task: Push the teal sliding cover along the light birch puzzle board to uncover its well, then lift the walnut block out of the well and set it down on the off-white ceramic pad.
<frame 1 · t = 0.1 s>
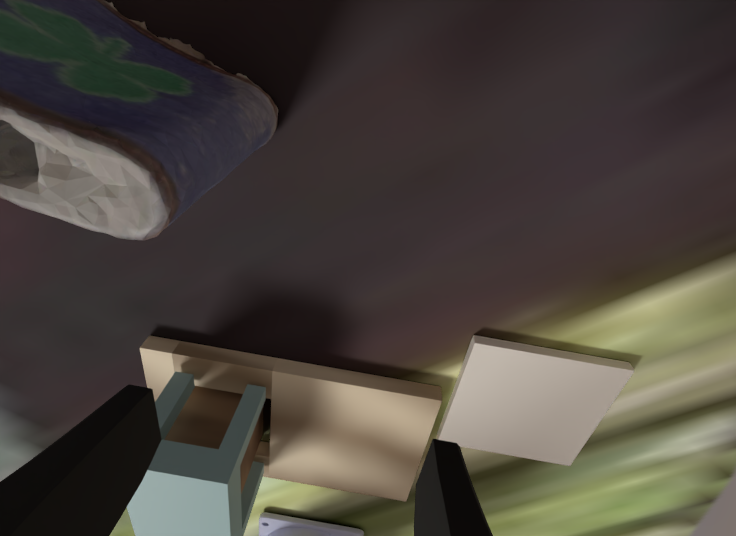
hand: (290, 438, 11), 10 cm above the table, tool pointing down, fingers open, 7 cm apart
cover: (203, 469, 23), point 4 cm above the table, slide at 0.0 cm
flask: (169, 70, 16), on the table
pad: (524, 401, 23), on the table
block: (215, 442, 24), in the board
board: (231, 408, 26), on the table
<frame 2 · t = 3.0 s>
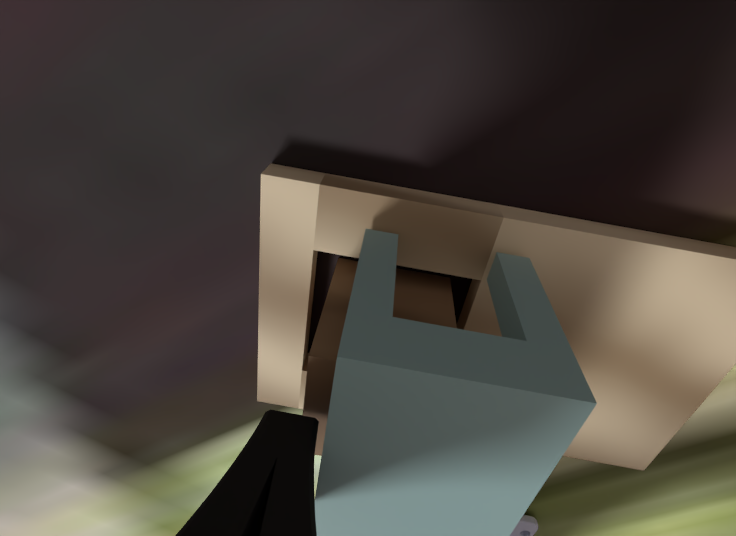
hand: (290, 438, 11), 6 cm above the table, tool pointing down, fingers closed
cover: (419, 404, 12), point 4 cm above the table, slide at 1.3 cm, touching gripper
block: (380, 357, 14), in the board
board: (384, 312, 16), on the table
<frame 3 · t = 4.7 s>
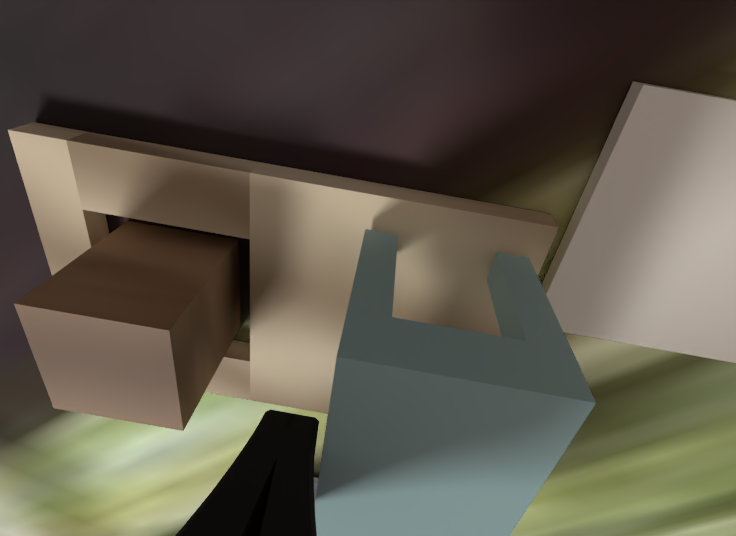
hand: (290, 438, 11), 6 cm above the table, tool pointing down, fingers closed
cover: (419, 404, 12), point 4 cm above the table, slide at 8.9 cm, touching gripper
pad: (697, 239, 13), on the table
block: (153, 317, 14), in the board
board: (187, 277, 16), on the table
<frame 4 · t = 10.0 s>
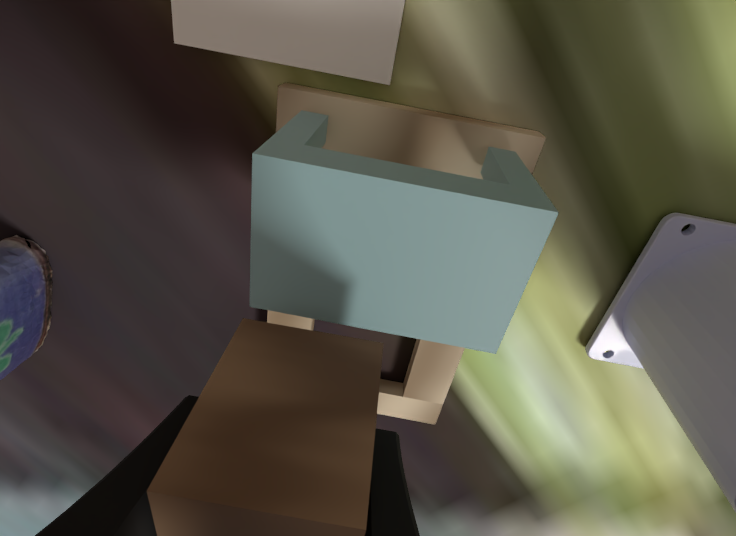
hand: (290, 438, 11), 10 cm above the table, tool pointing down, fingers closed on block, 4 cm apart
cover: (392, 223, 14), point 4 cm above the table, slide at 8.9 cm
flask: (28, 298, 24), on the table
block: (287, 453, 11), point 11 cm above the table, touching gripper
board: (363, 338, 23), on the table
when the fingers open (4 cm above the table, at t = 12.2 s): block drops 1 cm, resting on pad.
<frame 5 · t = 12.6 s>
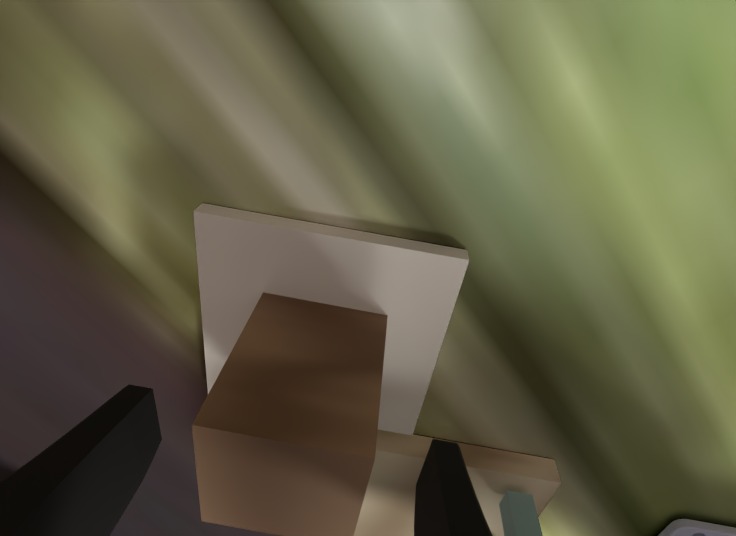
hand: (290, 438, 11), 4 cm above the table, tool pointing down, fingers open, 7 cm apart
pad: (322, 328, 15), on the table
block: (302, 409, 12), on the pad, point 3 cm above the table
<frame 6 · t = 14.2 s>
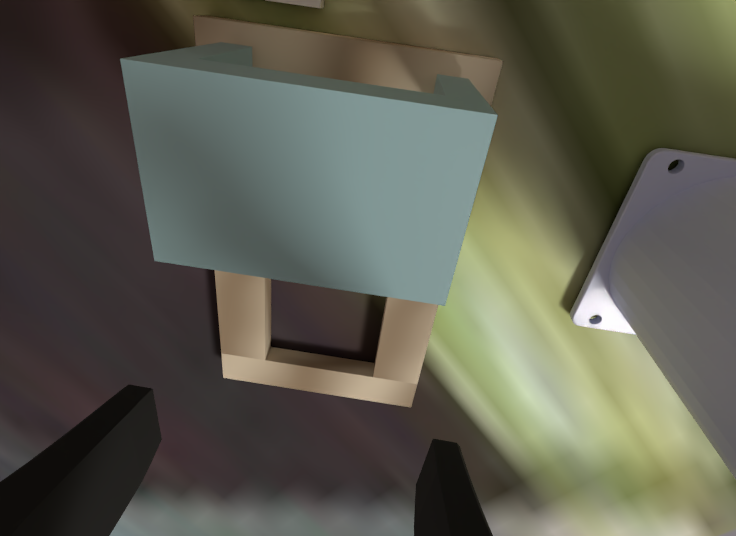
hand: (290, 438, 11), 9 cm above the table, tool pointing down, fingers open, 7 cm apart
cover: (323, 162, 12), point 4 cm above the table, slide at 8.9 cm
board: (326, 313, 21), on the table
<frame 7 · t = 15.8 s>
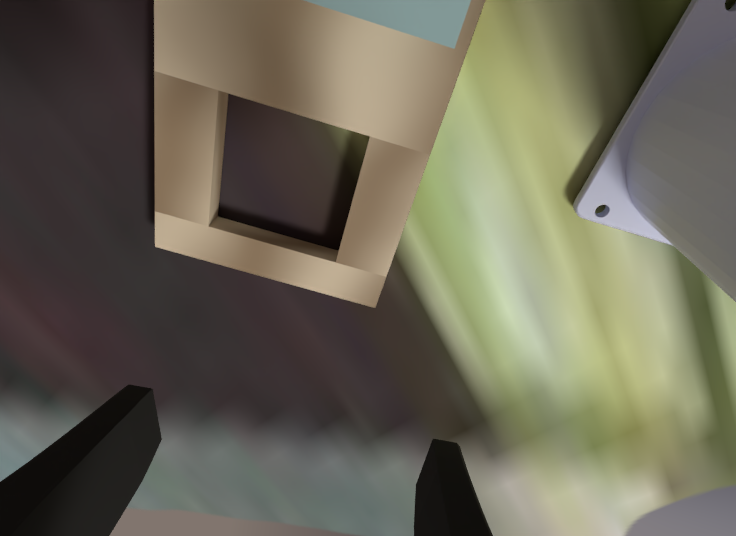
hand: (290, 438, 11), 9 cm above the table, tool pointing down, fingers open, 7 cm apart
board: (289, 176, 17), on the table
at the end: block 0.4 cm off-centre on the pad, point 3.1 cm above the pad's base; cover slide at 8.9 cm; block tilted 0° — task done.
